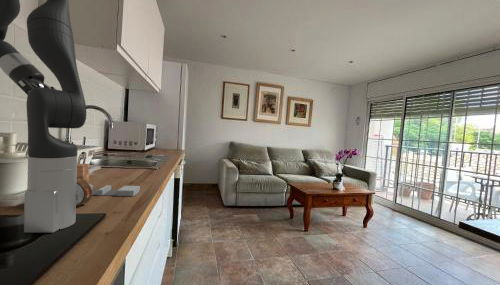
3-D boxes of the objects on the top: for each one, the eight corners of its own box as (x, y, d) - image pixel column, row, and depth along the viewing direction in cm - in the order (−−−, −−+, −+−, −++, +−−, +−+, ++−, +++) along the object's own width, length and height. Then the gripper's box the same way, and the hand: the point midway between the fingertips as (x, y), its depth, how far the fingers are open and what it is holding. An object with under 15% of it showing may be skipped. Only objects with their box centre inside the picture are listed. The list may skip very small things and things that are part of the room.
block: (82, 187, 84) (83, 165, 84) (70, 187, 83) (70, 165, 83) (88, 185, 88) (89, 163, 88) (76, 184, 87) (77, 163, 87)
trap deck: (133, 196, 85) (133, 189, 85) (65, 194, 82) (65, 188, 82) (139, 191, 92) (139, 185, 92) (76, 189, 89) (76, 183, 89)
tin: (92, 205, 74) (93, 178, 73) (84, 208, 71) (85, 180, 70) (49, 200, 75) (49, 174, 75) (39, 203, 72) (39, 176, 72)
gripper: (12, 57, 70) (55, 98, 72) (46, 69, 84) (81, 104, 86) (-9, 73, 69) (35, 114, 71) (29, 83, 83) (64, 117, 85)
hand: (60, 108), depth 78 cm, fingers open, 8 cm apart
